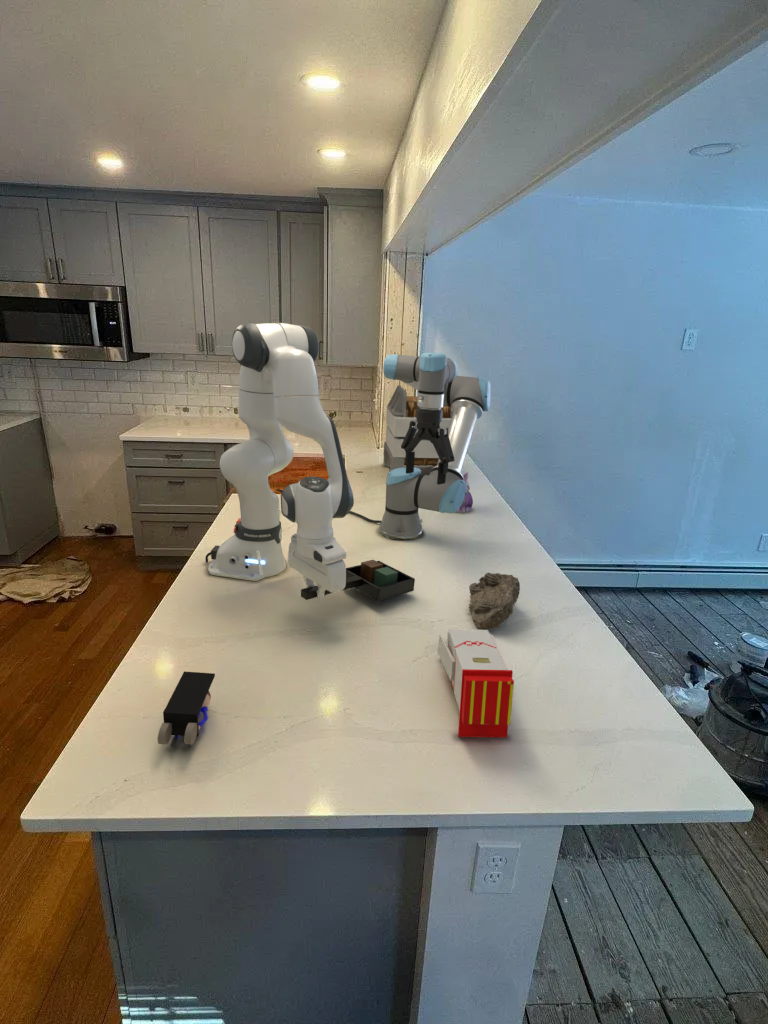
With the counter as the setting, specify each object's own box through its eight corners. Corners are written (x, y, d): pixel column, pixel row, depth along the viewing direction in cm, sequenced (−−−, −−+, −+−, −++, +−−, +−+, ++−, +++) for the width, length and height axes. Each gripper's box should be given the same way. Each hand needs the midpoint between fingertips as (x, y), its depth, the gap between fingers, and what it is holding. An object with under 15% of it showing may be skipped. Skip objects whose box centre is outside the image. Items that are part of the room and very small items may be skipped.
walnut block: (359, 578, 159) (361, 562, 157) (371, 575, 162) (373, 559, 160) (369, 584, 156) (371, 567, 154) (381, 581, 159) (383, 564, 157)
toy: (488, 613, 130) (523, 677, 101) (484, 667, 133) (517, 744, 104) (435, 612, 130) (455, 676, 101) (432, 666, 133) (451, 743, 103)
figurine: (459, 514, 221) (463, 477, 216) (445, 506, 229) (448, 470, 224) (479, 511, 225) (483, 475, 220) (464, 503, 234) (467, 468, 228)
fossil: (461, 576, 160) (507, 550, 155) (480, 600, 163) (525, 575, 158) (463, 624, 140) (516, 596, 135) (485, 650, 143) (537, 624, 138)
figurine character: (198, 762, 99) (219, 698, 112) (193, 731, 96) (215, 669, 109) (159, 761, 99) (184, 698, 112) (153, 730, 95) (180, 668, 109)
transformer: (382, 463, 289) (386, 382, 275) (445, 464, 293) (451, 384, 279) (390, 482, 257) (394, 392, 243) (460, 483, 261) (468, 394, 247)
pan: (286, 594, 146) (287, 580, 145) (377, 571, 166) (378, 559, 165) (320, 617, 135) (321, 602, 134) (413, 590, 156) (415, 577, 155)
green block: (373, 586, 154) (375, 569, 153) (385, 583, 157) (386, 566, 156) (384, 592, 151) (386, 575, 150) (396, 589, 154) (398, 572, 153)
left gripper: (281, 534, 143) (282, 583, 148) (328, 561, 129) (329, 614, 133) (302, 528, 147) (303, 576, 152) (350, 554, 133) (350, 606, 137)
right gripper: (391, 402, 171) (388, 470, 178) (452, 416, 154) (446, 490, 161) (410, 400, 176) (406, 466, 183) (470, 413, 158) (464, 486, 166)
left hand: (315, 594), depth 142 cm, fingers closed on pan, 2 cm apart
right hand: (424, 478), depth 172 cm, fingers open, 13 cm apart
